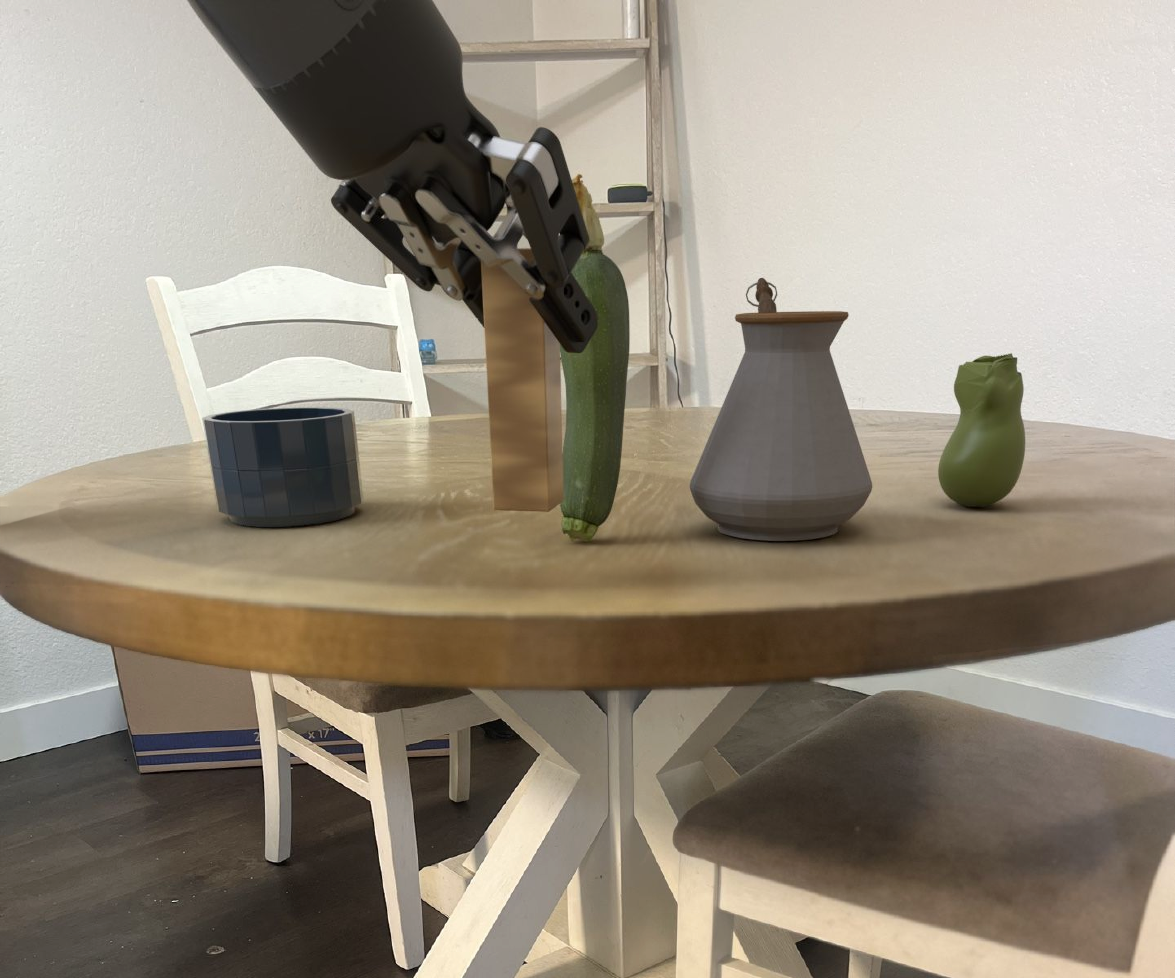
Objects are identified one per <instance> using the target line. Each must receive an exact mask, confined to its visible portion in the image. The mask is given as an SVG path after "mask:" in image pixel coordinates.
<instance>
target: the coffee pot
mask: <svg viewBox="0 0 1175 978" xmlns="http://www.w3.org/2000/svg"><path fill="white" fill-rule="evenodd" d="M755 286H756V287H755ZM770 286H771V287H770ZM753 287H755V288H756V289H755V290H756V291H755V295H754V296H755V300H756V302H757V303H758V304H756V303H753V302H752V301H751V300H749V297H748V294H749V292H750V289H752V288H753ZM772 288H774V290H775V295H774V291H773V289H772ZM773 296H774V297H773ZM745 297H746V302H747V303H748V304H750V305H751V306H752V307H756V308H757V312H743V313H737V314H735V316H734V320H735V322H737V323H739V324H740V325H741V332H742V338H743V343H744V354H743V355H742V358H741V361H740V363H739V365H738V367H737V370H736V372H735V375H734V377H733V379H732V382H731V383H730V386H729V389H728V391H727V393H726V395H725V398H724V401H723V403H722V405H721V408H720V410H719V413H718V415H717V418H716V420H715V421H714V425H713V427H712V429H711V432H710V434H709V437H708V439H707V441H706V444H705V446H704V448H703V451H702V453H701V456H700V457H699V460H698V463H697V465H696V466H695V469H694V472H693V474H692V477H691V479H690V482H689V491H690V493H691V496H692V498H693V500H694V503H695V505H696V506H697V507H698V509H699V510H700V511H701V512H702V514H703V515H705V516H706V517H707V518H708V519H709V520H711V521H713V522H714V523H716V524H717V525H718V526H717V530H718V531H719V532H720V533H721V534H723V535H727V536H730V537H734V538H738V539H747V540H753V541H755V540H756V541H767V542H770V541H773V542H788V541H791V542H792V541H807V540H815V539H822V538H826V537H829V536H830V537H831V536H833V535H835V534H836V533H838V531H839V526H840V525H842V524H843V523H845V522H848V521H849V520H850V519H852V518H853V517H854V516H855V515H856V514H857V513H858V512H859V511H860V510H861V509H862V508H863V507H864V506H865V504H866V503H867V500H868V498H869V497H870V495H871V493H872V491H873V481H872V478H871V475H870V472H869V469H868V465H867V463H866V459H865V455H864V453H863V449H862V447H861V443H860V441H859V438H858V435H857V431H856V429H855V425H854V422H853V418H852V416H851V413H850V409H849V406H848V403H847V400H846V398H845V393H844V392H843V391H844V390H843V388H842V384H841V382H840V377H839V375H838V372H837V368H836V366H835V362H834V360H833V355H832V353H831V346H832V344H833V342H834V341H835V339H836V337H837V335H838V333H839V331H840V329H841V327H842V326H843V324H844V322H845V321H847V320H848V317H849V316H850V315H849V312H848V311H841V310H825V311H824V310H821V311H820V310H819V311H817V310H816V311H815V310H813V311H808V310H807V311H777V304H776V299H777V297H778V290H777V286H775V284H773V283H772V282H770V281H767V280H766V279H765V278H764V277H760V278H758V279H757V281H756V282H754V283H752V284H751V285H749V286H748V287H747V290H746V292H745Z"/></svg>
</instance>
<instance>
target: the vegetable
mask: <svg viewBox="0 0 1175 978" xmlns="http://www.w3.org/2000/svg"><path fill="white" fill-rule="evenodd" d="M582 178H583V175H582V174H581V173H578V174H577V175H576V176H575V177H574V178H571V179H572V183H573V186H574V189H575V193H576V196H577V199H578V202H579V206H580V209H581V212H582V215H583V219H584V222H585V225H586V229H587V232H588V235H589V239H590V241H589V244H588V245H587V247H586V249H585V250H584V252H583V253H582V255H581V257H580V258H579V260H578V262H577V263H576V265H575V267H574V268H573V270H572V272H571V273H572V274H573V276H574V277H575V279H576V280H577V282H578V284H579V285H580V287H581V288H582V290H583V291H584V293H585V294H586V295H585V296H587V298H588V299H589V301H590V303H591V304H592V305H593V307H594V308H595V310H596V312H597V316H598V326H597V329H596V331H595V332H594V334H593V336H592V337H591V339H590V341H589V343H588V344H587V346H586V348H585V349H584V351H583V352H581V353H567V352H566V351H565V350H564V349H563V347H562V346H561V345H560V361H561V366H562V373H563V377H564V384H565V405H566V407H565V409H566V410H565V412H566V413H565V431H564V439H563V445H562V453H563V495H564V501H563V502H562V503H560V504H559V506H560V512H561V513H562V516H563V517H562V520H561V530H562V531H561V532H562V533H563V534H564V535H566V534H567V536H568V537H569V541H570V542H574V541H576V540H578V541H579V540H580V541H585V542H586V543H590V542H591V541H592V540H593V538H594V537H595V535H596V534H597V532H598V530H599V527H600V526H602V525H603V524H604V523H605V522H606V520H607V519H608V518H609V516H610V514H611V513H612V509H613V505H614V502H615V498H616V493H617V488H618V486H619V485H618V483H619V478H620V471H621V465H622V464H621V463H622V452H623V440H624V439H623V437H624V425H625V424H624V422H625V409H626V399H627V398H626V397H627V380H628V370H629V361H630V345H631V344H630V343H631V341H630V340H631V339H630V336H631V334H630V328H631V327H630V304H629V303H630V302H629V296H628V290H627V286H626V282H625V278H624V276H623V274H622V271H621V270H620V268H619V266H618V265H617V264H616V263H615V262H614V260H613V259H611V258H610V257H609V256H607V255H606V254H604V252H603V246H604V244H605V235H604V232H603V228H602V225H601V220H600V217H599V215H598V213H597V212H596V209H595V208H594V207H593V205H592V202H593V197H592V195H591V193H590V192H589V191H588V187H587V186H585V185H584V181H583V180H582Z"/></svg>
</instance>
